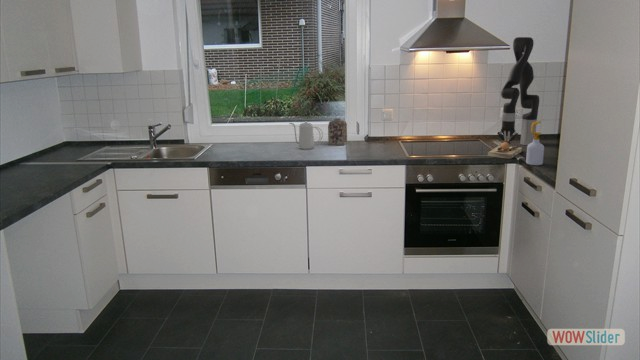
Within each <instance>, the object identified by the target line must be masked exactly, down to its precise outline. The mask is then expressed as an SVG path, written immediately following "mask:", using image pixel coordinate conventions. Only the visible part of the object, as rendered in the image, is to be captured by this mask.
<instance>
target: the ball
mask: <svg viewBox="0 0 640 360" xmlns="http://www.w3.org/2000/svg"><path fill="white" fill-rule="evenodd" d="M510 146H511V145H509V143H507V142H505V141H503V142H502V143H501V148H502V149H503V150H508V149H509V147H510Z"/></svg>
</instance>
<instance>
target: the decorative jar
mask: <svg viewBox="0 0 640 360" xmlns="http://www.w3.org/2000/svg"><path fill="white" fill-rule="evenodd" d="M327 129H328V130H327V137H328V139H327V141H328V146H345V145H346V144H347V143H348V124H347V122H346V121H345V120H342V118H341V117H339V118H338V117H337V118H333V120H331V121H329V122H328V126H327Z"/></svg>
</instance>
